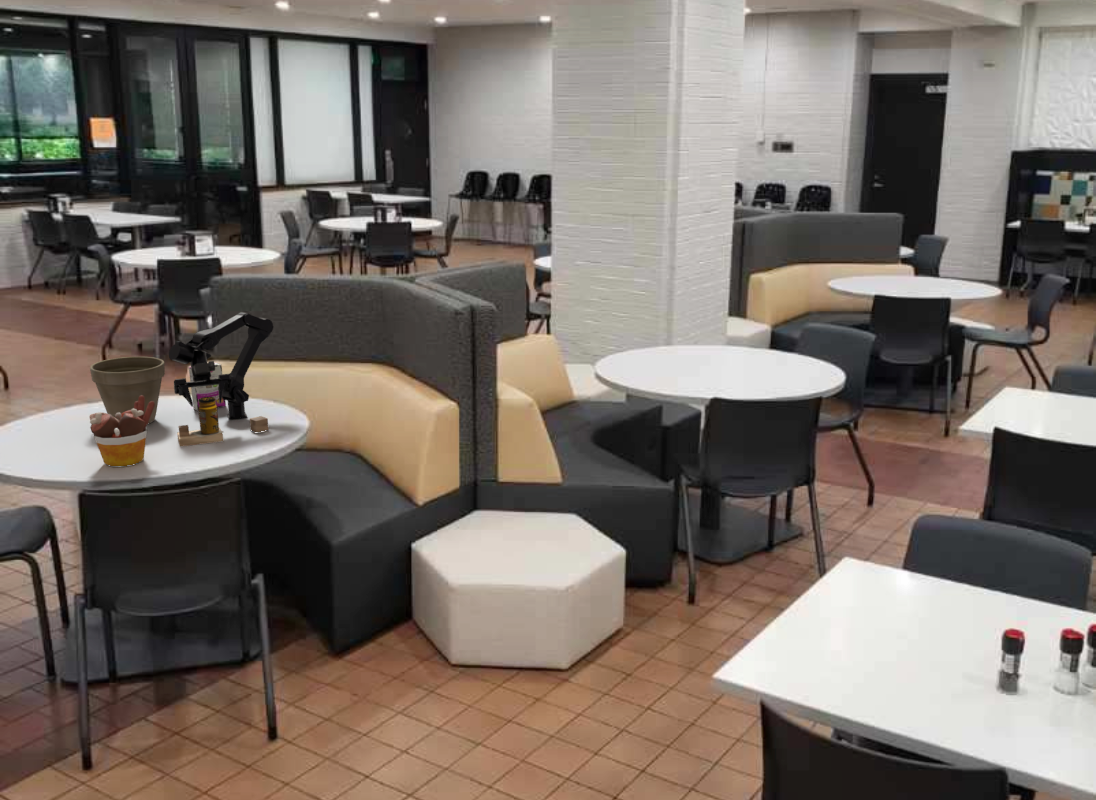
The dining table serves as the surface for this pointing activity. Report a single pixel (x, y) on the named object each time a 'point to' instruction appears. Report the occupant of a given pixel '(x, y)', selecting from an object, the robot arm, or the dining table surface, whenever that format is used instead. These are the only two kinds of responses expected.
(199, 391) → the candy bar box
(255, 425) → the block
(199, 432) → the condiment
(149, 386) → the plant pot
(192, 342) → the robot arm
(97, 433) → the bucket of meat
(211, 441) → the foundation
